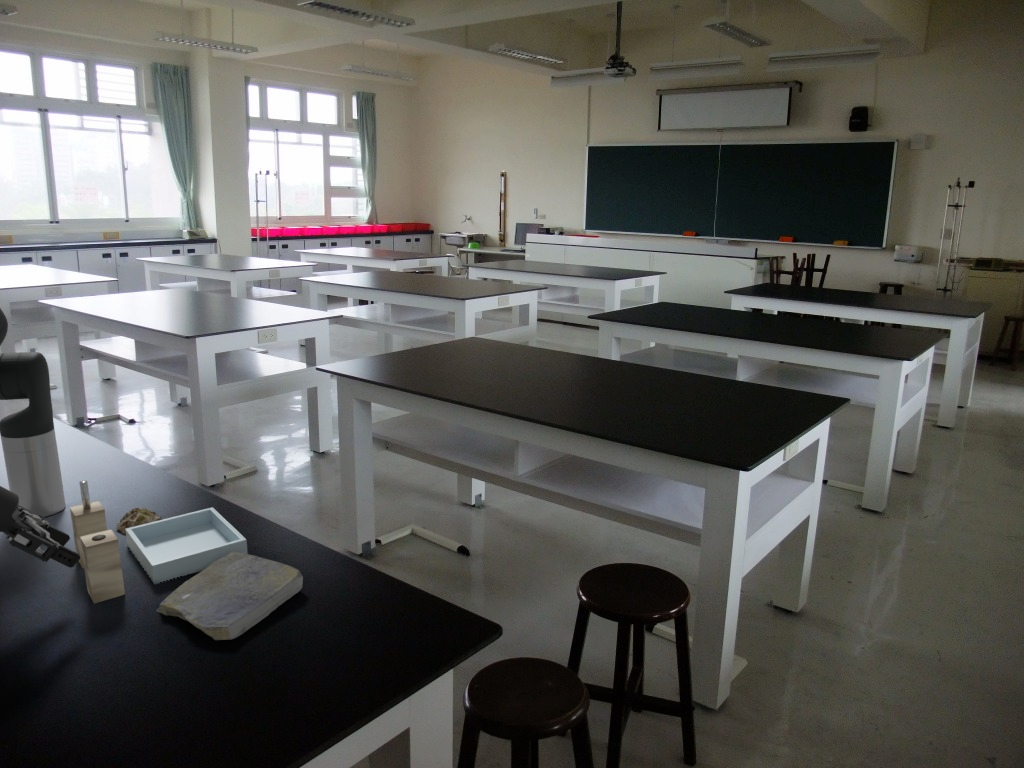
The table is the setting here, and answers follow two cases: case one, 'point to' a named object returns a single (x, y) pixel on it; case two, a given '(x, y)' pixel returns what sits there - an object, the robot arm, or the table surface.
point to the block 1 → (86, 518)
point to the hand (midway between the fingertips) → (71, 551)
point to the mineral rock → (137, 518)
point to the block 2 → (102, 565)
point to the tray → (183, 543)
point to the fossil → (233, 594)
